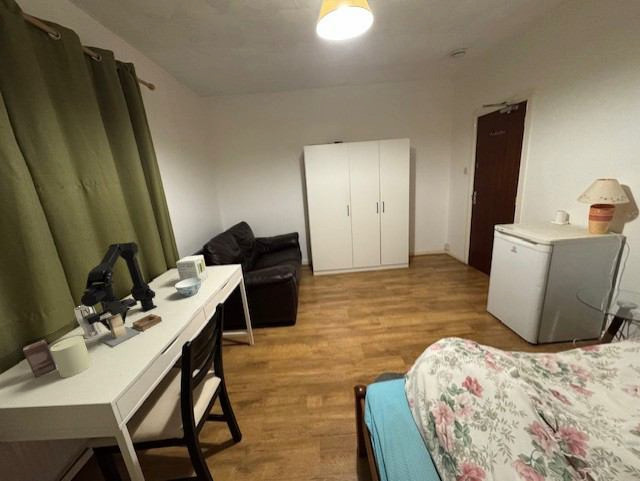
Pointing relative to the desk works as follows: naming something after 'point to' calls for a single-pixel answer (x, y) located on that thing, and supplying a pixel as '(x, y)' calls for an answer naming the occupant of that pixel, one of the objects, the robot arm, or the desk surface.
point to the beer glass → (88, 329)
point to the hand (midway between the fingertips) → (117, 327)
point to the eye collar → (140, 323)
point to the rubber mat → (114, 342)
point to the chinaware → (188, 286)
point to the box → (39, 358)
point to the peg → (116, 326)
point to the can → (71, 356)
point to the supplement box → (192, 268)
